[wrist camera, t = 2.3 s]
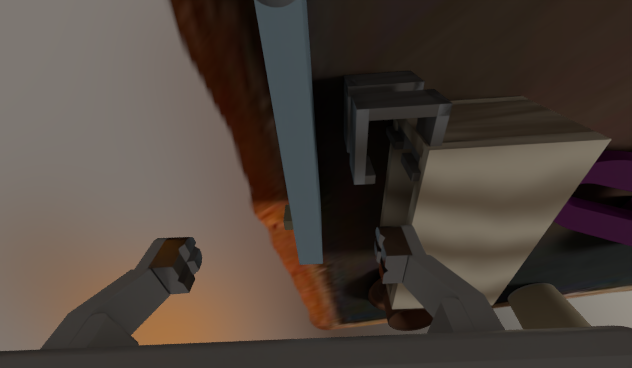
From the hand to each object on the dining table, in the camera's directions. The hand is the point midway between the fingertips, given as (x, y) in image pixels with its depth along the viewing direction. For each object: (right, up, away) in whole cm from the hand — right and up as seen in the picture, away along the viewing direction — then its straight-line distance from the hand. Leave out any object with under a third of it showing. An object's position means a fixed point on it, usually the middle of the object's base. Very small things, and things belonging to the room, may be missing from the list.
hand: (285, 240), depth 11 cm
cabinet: (+13, +3, +19) cm, 23 cm away
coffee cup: (+41, -18, +35) cm, 56 cm away
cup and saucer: (+16, -15, +32) cm, 39 cm away
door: (0, +10, +13) cm, 17 cm away
